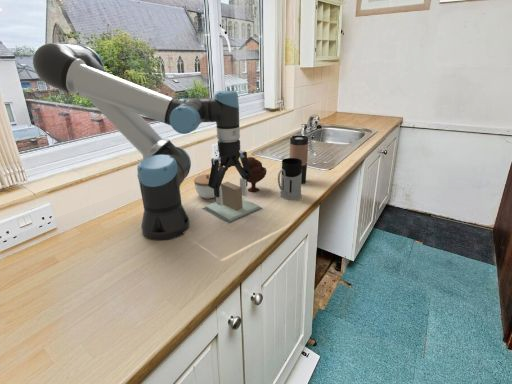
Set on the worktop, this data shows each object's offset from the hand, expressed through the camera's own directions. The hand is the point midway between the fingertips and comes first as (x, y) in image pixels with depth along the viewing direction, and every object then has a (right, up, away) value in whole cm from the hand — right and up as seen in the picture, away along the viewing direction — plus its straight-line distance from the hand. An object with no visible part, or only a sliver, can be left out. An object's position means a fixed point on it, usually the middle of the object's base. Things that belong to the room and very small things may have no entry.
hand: (231, 199), depth 114 cm
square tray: (0, -4, +2) cm, 4 cm away
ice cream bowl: (+8, +3, +17) cm, 19 cm away
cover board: (0, -3, +1) cm, 3 cm away
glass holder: (+21, 0, +9) cm, 23 cm away
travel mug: (+27, +7, +26) cm, 38 cm away
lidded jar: (-10, +1, +13) cm, 17 cm away
